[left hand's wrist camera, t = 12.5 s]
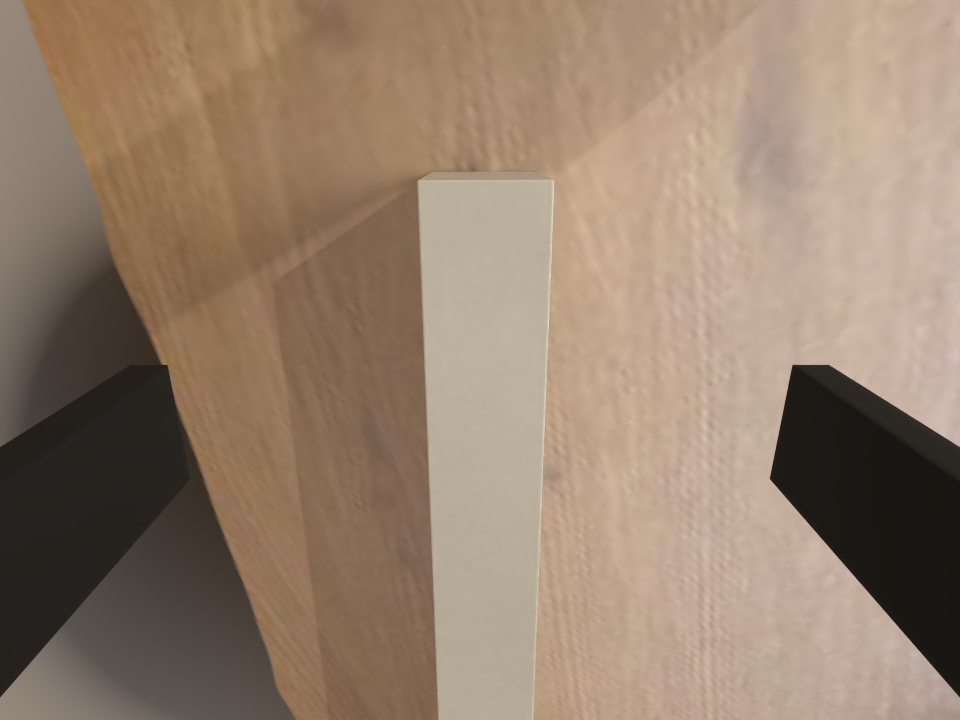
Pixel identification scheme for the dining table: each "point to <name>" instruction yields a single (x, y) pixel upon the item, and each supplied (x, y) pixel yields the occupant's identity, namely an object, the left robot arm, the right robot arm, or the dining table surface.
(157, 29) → the dining table surface
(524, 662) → the bar
